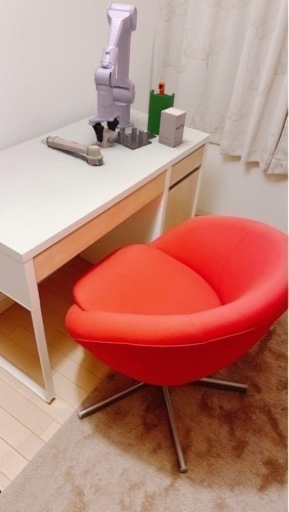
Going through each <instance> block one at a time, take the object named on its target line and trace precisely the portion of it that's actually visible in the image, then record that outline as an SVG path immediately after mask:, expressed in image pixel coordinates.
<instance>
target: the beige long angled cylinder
mask: <svg viewBox="0 0 289 512" xmlns="http://www.w3.org/2000/svg"><path fill="white" fill-rule="evenodd" d="M45 142H46V145H47V146H48V147H50V148H54V149H55V150H56V149H59V150H64V151H69V152H74V153H78V154H83V155H85V156H86V159H87V163H88V164H89V165H92V166H95V165H96V166H100V165H102V164H104V154H103V153H102V151H101V148H100V147H99V146H100V145H86V144H83V143H80V142H77V141H73V140H69V139H66V138H63V137H59V136H58V135H56V136H53V135H48V136H47V138H46V140H45Z"/></svg>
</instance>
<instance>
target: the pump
mask: <svg viewBox="0 0 289 512" xmlns="http://www.w3.org/2000/svg"><path fill="white" fill-rule="evenodd" d="M114 138H115V133H114V131H112V130H110V129H108V127H104V130H103V140H102V143H100V142H98V141H97V137H96V136H95V141H96V144H98V146H101V147H102V148H106V147H110V146H113V145H115V139H114Z"/></svg>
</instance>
